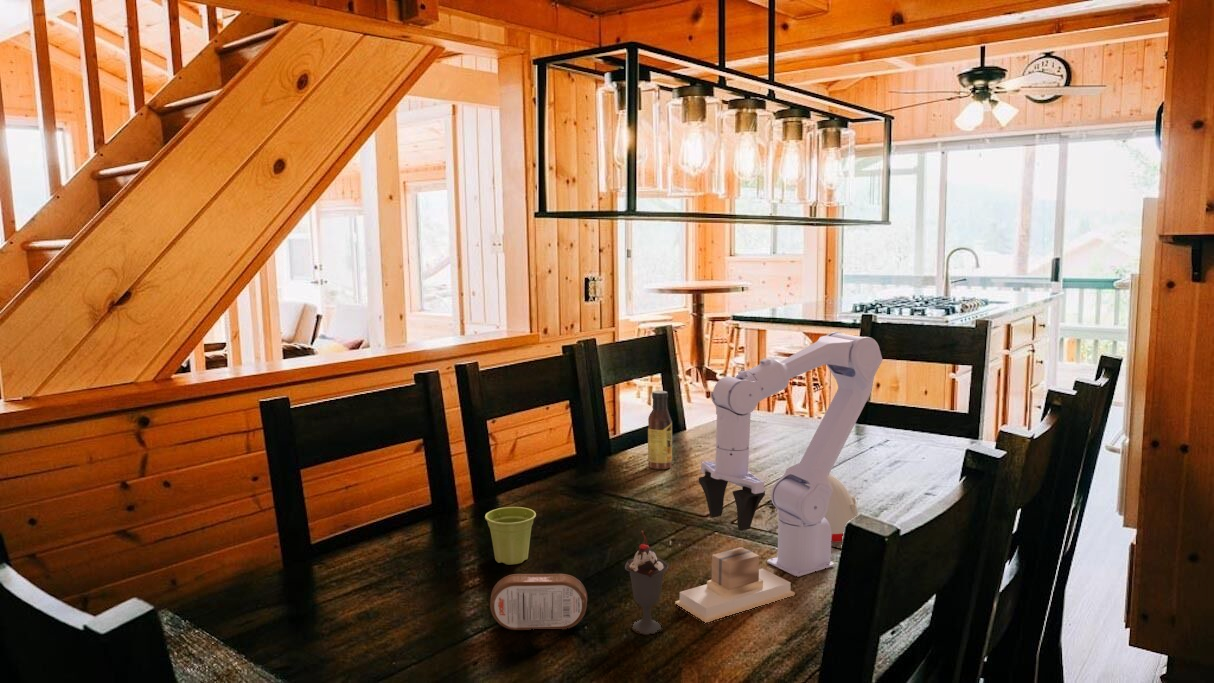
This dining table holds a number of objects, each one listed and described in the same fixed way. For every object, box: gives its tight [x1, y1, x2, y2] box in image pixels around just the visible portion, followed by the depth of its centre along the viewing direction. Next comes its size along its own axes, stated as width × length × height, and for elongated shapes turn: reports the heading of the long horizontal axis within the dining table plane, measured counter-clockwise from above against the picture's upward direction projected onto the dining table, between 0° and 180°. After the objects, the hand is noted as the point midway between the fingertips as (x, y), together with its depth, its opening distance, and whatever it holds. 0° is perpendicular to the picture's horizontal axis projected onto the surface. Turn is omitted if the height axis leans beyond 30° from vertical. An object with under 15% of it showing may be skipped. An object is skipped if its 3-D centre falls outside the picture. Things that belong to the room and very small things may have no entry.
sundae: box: [624, 530, 670, 634], centre depth 128 cm, size 7×7×15 cm
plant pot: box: [484, 506, 537, 565], centre depth 156 cm, size 9×9×9 cm
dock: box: [674, 568, 796, 624], centre depth 138 cm, size 8×19×2 cm, turn 122°
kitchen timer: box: [805, 473, 859, 543], centre depth 170 cm, size 14×14×15 cm
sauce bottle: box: [647, 390, 673, 470], centre depth 215 cm, size 6×6×20 cm
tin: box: [489, 573, 588, 631], centre depth 129 cm, size 15×3×8 cm, turn 92°
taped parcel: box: [706, 546, 763, 598], centre depth 137 cm, size 8×5×6 cm, turn 122°
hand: (729, 522), depth 145 cm, fingers open, 7 cm apart
